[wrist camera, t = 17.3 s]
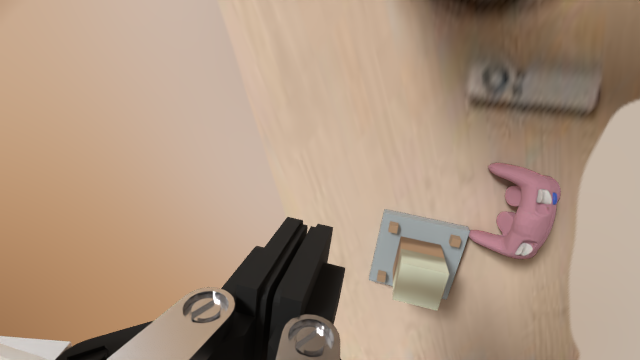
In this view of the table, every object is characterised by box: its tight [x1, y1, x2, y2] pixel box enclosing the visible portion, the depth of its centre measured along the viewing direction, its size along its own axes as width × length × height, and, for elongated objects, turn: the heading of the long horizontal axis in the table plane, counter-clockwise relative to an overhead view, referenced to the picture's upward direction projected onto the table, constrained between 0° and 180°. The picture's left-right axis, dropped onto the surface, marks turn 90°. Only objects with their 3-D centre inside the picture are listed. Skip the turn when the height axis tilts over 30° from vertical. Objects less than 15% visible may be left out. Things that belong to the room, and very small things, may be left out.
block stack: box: [393, 236, 449, 311], centre depth 36 cm, size 5×5×6 cm
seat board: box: [369, 209, 470, 300], centre depth 39 cm, size 10×10×2 cm
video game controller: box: [469, 163, 561, 259], centre depth 33 cm, size 10×5×7 cm, turn 174°
